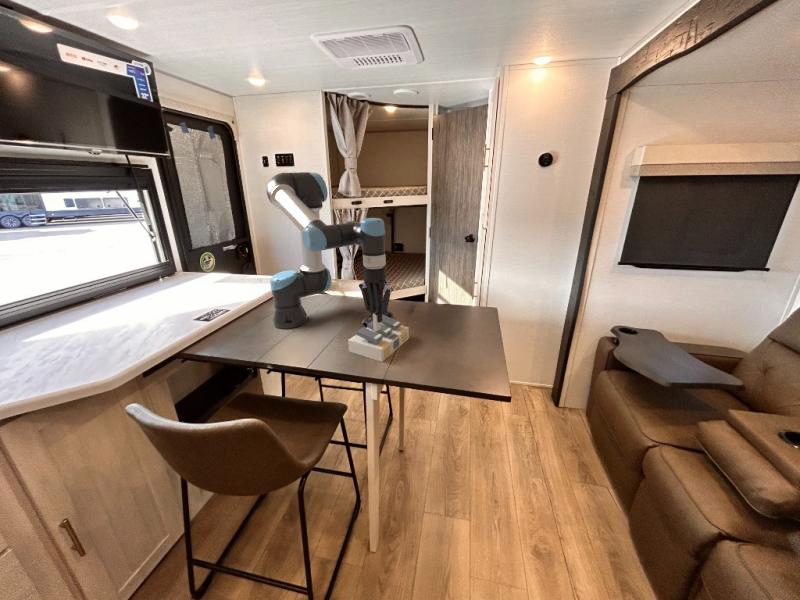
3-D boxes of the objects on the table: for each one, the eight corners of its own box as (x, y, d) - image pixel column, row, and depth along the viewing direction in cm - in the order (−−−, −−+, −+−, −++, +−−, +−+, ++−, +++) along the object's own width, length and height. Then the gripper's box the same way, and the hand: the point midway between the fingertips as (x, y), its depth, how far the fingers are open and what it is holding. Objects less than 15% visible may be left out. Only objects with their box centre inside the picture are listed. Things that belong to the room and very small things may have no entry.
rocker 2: (367, 327, 121) (367, 323, 120) (372, 323, 124) (373, 319, 123) (386, 337, 117) (386, 333, 117) (391, 332, 121) (392, 328, 120)
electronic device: (376, 317, 152) (357, 325, 139) (378, 306, 150) (359, 313, 138) (392, 323, 148) (374, 332, 135) (394, 312, 146) (376, 320, 134)
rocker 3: (376, 321, 126) (377, 317, 125) (382, 317, 129) (382, 313, 128) (395, 330, 123) (395, 326, 122) (400, 326, 126) (400, 322, 125)
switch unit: (349, 351, 119) (347, 337, 117) (378, 330, 135) (378, 317, 132) (382, 362, 111) (381, 346, 109) (409, 338, 127) (409, 324, 125)
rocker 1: (356, 335, 116) (356, 330, 115) (363, 330, 119) (363, 326, 118) (376, 343, 112) (376, 339, 111) (382, 339, 115) (382, 334, 115)
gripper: (352, 266, 104) (356, 329, 113) (384, 271, 98) (386, 337, 106) (365, 261, 110) (368, 321, 119) (397, 266, 104) (398, 329, 112)
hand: (377, 329), depth 112 cm, fingers closed
